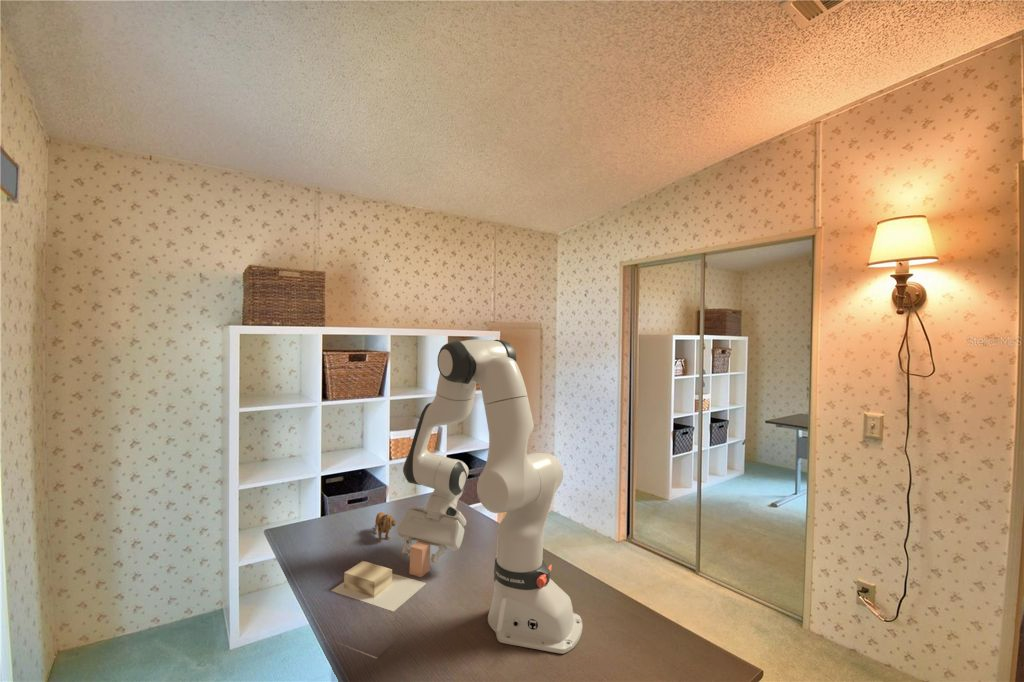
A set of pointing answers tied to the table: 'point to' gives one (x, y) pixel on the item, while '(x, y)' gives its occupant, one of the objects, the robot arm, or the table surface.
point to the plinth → (368, 578)
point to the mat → (386, 593)
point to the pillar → (419, 558)
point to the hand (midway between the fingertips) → (418, 558)
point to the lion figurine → (384, 524)
